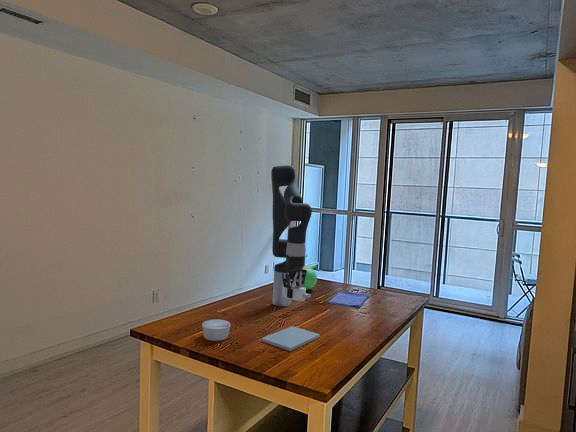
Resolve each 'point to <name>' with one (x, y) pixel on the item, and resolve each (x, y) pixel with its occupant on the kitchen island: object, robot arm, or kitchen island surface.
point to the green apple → (309, 277)
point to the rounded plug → (296, 293)
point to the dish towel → (349, 299)
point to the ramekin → (216, 329)
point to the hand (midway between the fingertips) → (293, 296)
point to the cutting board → (290, 338)
